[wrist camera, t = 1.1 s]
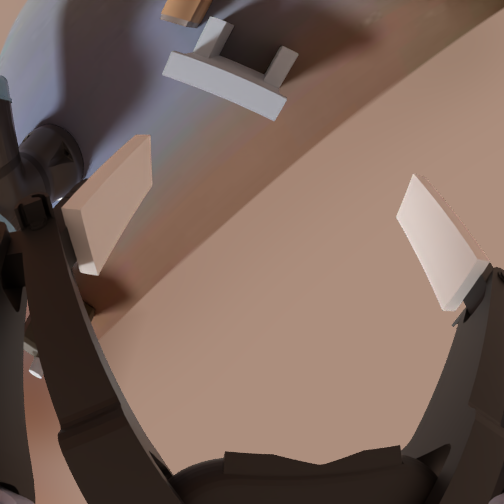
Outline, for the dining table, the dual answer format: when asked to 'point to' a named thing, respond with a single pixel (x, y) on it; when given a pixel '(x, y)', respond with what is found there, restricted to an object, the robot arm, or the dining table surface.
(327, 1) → the dining table surface
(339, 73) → the dining table surface
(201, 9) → the rail
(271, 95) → the grey u-shaped bracket
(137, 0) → the dining table surface
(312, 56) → the dining table surface
